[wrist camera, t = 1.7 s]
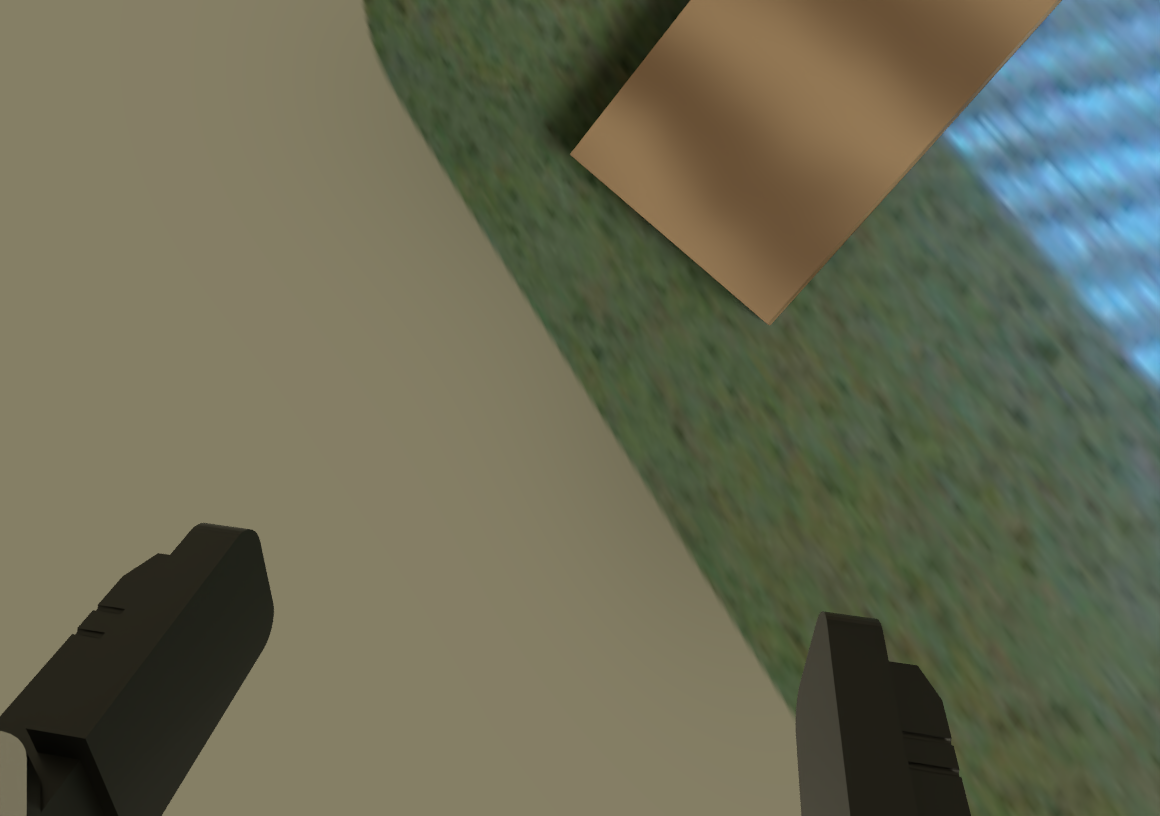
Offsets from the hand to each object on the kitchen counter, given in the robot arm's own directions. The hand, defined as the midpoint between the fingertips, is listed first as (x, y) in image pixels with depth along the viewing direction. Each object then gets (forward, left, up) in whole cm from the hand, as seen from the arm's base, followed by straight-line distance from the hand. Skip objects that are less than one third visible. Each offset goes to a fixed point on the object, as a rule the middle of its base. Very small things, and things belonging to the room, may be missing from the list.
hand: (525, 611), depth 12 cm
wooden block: (-16, -6, -24) cm, 29 cm away
